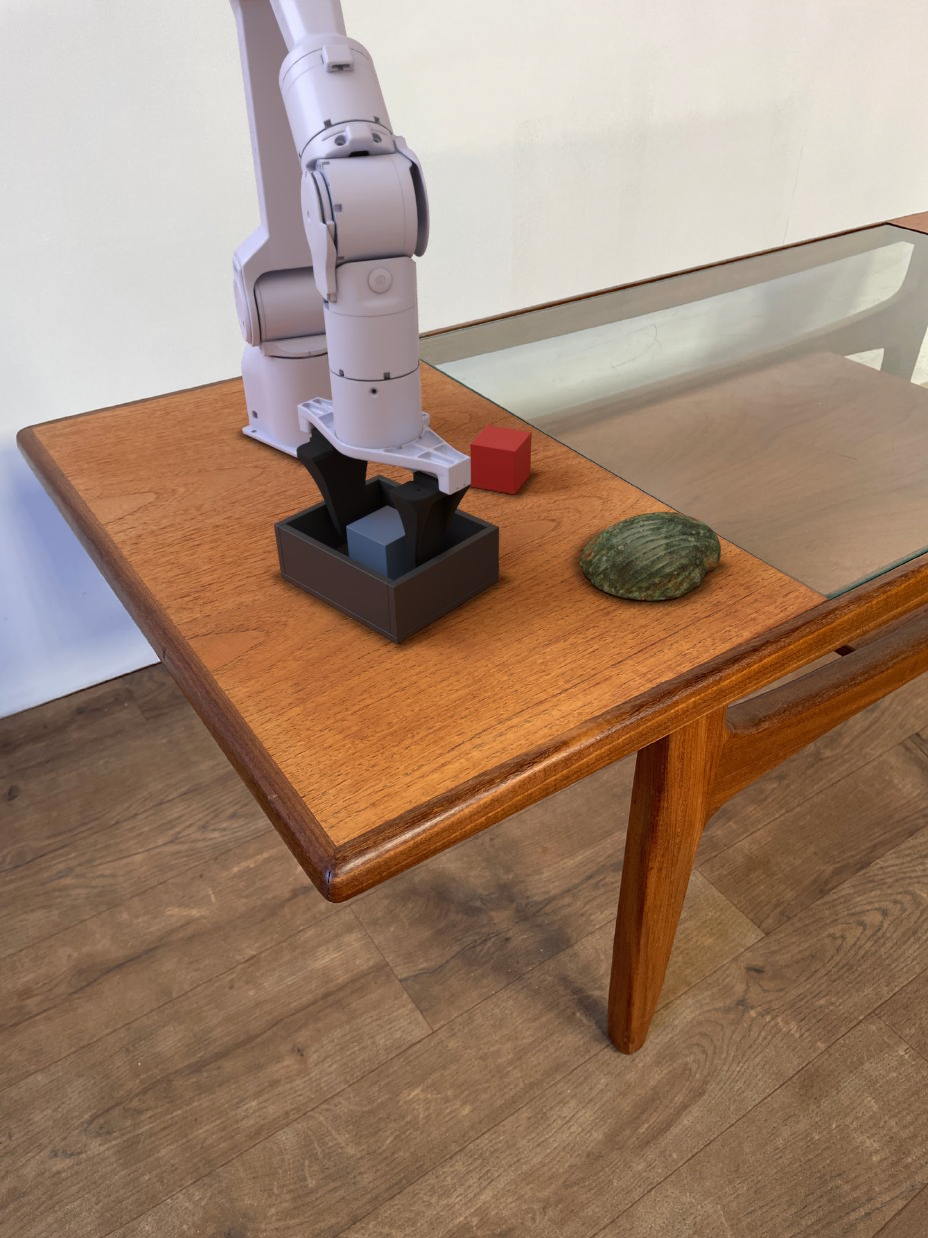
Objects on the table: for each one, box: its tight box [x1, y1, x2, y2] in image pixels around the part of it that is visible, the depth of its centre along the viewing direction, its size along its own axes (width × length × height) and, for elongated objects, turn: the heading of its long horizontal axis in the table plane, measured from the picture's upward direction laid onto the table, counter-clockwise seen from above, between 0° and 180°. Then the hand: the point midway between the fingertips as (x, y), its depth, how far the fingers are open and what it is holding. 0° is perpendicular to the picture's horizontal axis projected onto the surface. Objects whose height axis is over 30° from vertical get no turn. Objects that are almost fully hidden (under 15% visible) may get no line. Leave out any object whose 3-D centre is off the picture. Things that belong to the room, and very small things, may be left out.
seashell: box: [579, 511, 722, 602], centre depth 70 cm, size 10×4×10 cm
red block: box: [469, 424, 533, 495], centre depth 81 cm, size 4×4×4 cm
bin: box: [273, 473, 500, 645], centre depth 68 cm, size 12×10×4 cm
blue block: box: [346, 506, 411, 581], centre depth 68 cm, size 4×4×4 cm
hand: (387, 549), depth 68 cm, fingers open, 7 cm apart
